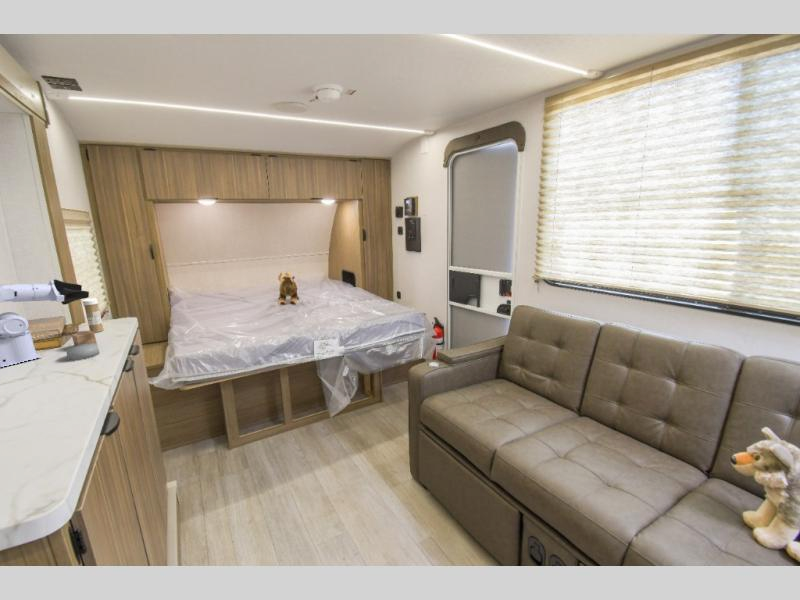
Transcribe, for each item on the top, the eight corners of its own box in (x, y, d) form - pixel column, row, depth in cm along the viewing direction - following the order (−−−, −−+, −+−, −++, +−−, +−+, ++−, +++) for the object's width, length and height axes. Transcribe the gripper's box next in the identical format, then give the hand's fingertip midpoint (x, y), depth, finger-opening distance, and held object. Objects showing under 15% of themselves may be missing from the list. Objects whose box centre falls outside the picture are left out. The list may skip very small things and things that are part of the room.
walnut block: (79, 350, 128) (76, 336, 127) (74, 347, 131) (71, 334, 129) (97, 345, 132) (94, 332, 131) (92, 343, 135) (88, 330, 133)
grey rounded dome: (73, 362, 117) (70, 353, 116) (64, 357, 121) (62, 349, 120) (103, 354, 123) (101, 345, 122) (94, 349, 127) (92, 341, 127)
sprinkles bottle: (87, 332, 147) (79, 300, 144) (99, 329, 151) (92, 297, 148) (94, 333, 145) (86, 301, 142) (106, 330, 149) (99, 298, 146)
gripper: (38, 287, 115) (92, 286, 126) (26, 274, 123) (78, 274, 134) (37, 308, 117) (91, 305, 128) (26, 294, 124) (78, 292, 136)
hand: (84, 291), depth 131 cm, fingers open, 7 cm apart
